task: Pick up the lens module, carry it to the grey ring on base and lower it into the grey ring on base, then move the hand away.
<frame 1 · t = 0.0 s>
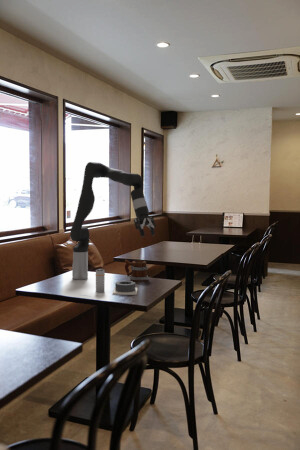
hand: (148, 235, 225), 31 cm above the table, fingers open, 8 cm apart
grey ring on base: (125, 291, 229), on the table
mug: (136, 280, 260), on the table
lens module: (100, 291, 229), on the table
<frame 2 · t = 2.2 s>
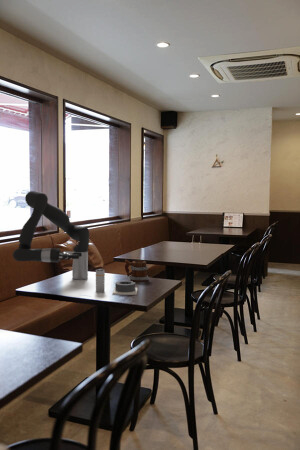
hand: (80, 255, 228), 20 cm above the table, fingers open, 8 cm apart
nothing on the table moved.
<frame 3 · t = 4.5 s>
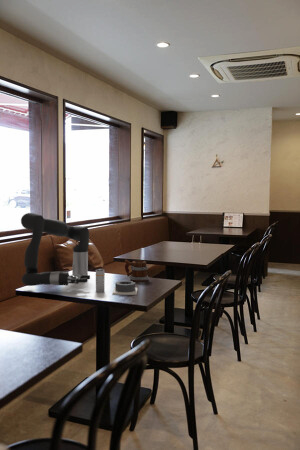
hand: (88, 278, 229), 7 cm above the table, fingers open, 8 cm apart
nothing on the table moved.
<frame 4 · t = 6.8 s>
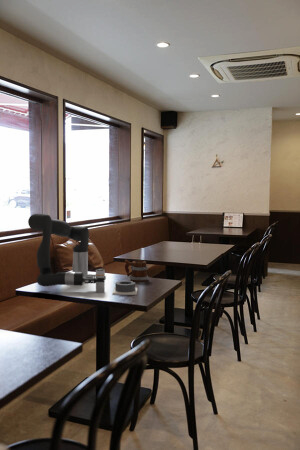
hand: (104, 279, 229), 7 cm above the table, fingers closed on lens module, 4 cm apart
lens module: (100, 291, 229), on the table, touching gripper
everything else where it was.
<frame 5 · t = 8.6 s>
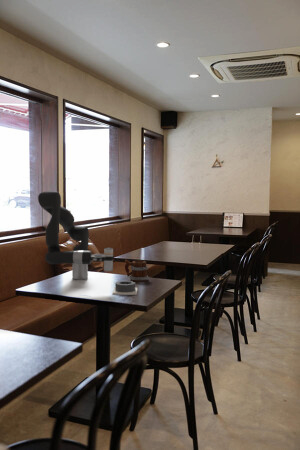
hand: (113, 257, 227), 19 cm above the table, fingers closed on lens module, 4 cm apart
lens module: (108, 270, 228), point 12 cm above the table, touching gripper
everything else where it was.
when the fingers open (9 cm above the table, at t = 11.0 s): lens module drops 1 cm, resting on grey ring on base.
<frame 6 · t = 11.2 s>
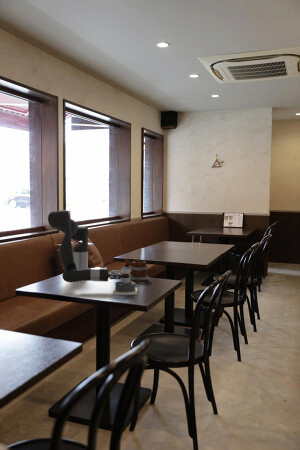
hand: (129, 274, 228), 10 cm above the table, fingers open, 6 cm apart
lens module: (125, 289, 229), point 1 cm above the table, touching grey ring on base
everything else where it was.
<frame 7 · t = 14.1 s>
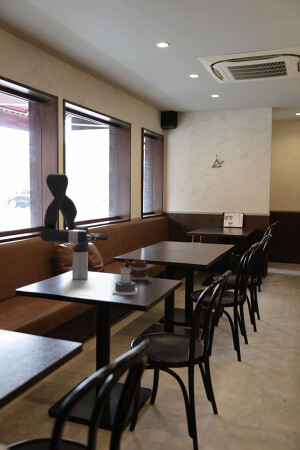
hand: (107, 237, 228), 30 cm above the table, fingers open, 8 cm apart
nothing on the table moved.
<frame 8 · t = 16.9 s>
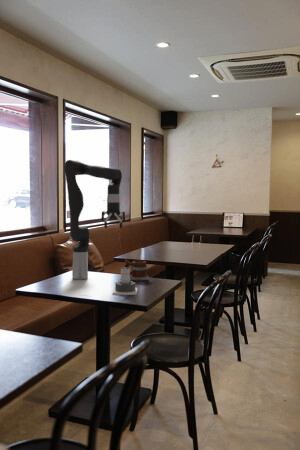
hand: (113, 228, 250), 33 cm above the table, fingers open, 8 cm apart
nothing on the table moved.
at the end: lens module 0.1 cm off-centre on the grey ring on base, point 1.0 cm above the grey ring on base's base; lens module tilted 0°; the gripper is holding nothing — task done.
